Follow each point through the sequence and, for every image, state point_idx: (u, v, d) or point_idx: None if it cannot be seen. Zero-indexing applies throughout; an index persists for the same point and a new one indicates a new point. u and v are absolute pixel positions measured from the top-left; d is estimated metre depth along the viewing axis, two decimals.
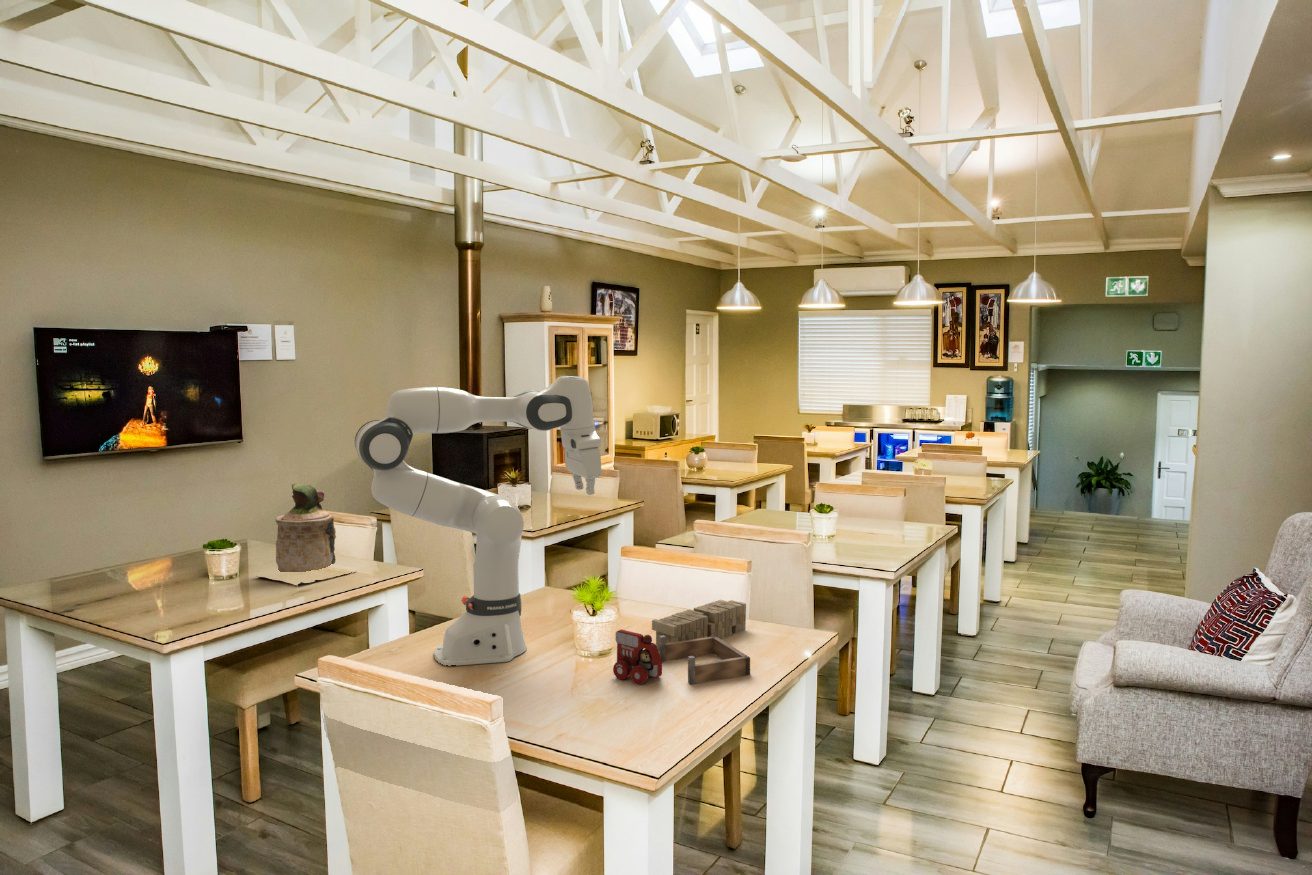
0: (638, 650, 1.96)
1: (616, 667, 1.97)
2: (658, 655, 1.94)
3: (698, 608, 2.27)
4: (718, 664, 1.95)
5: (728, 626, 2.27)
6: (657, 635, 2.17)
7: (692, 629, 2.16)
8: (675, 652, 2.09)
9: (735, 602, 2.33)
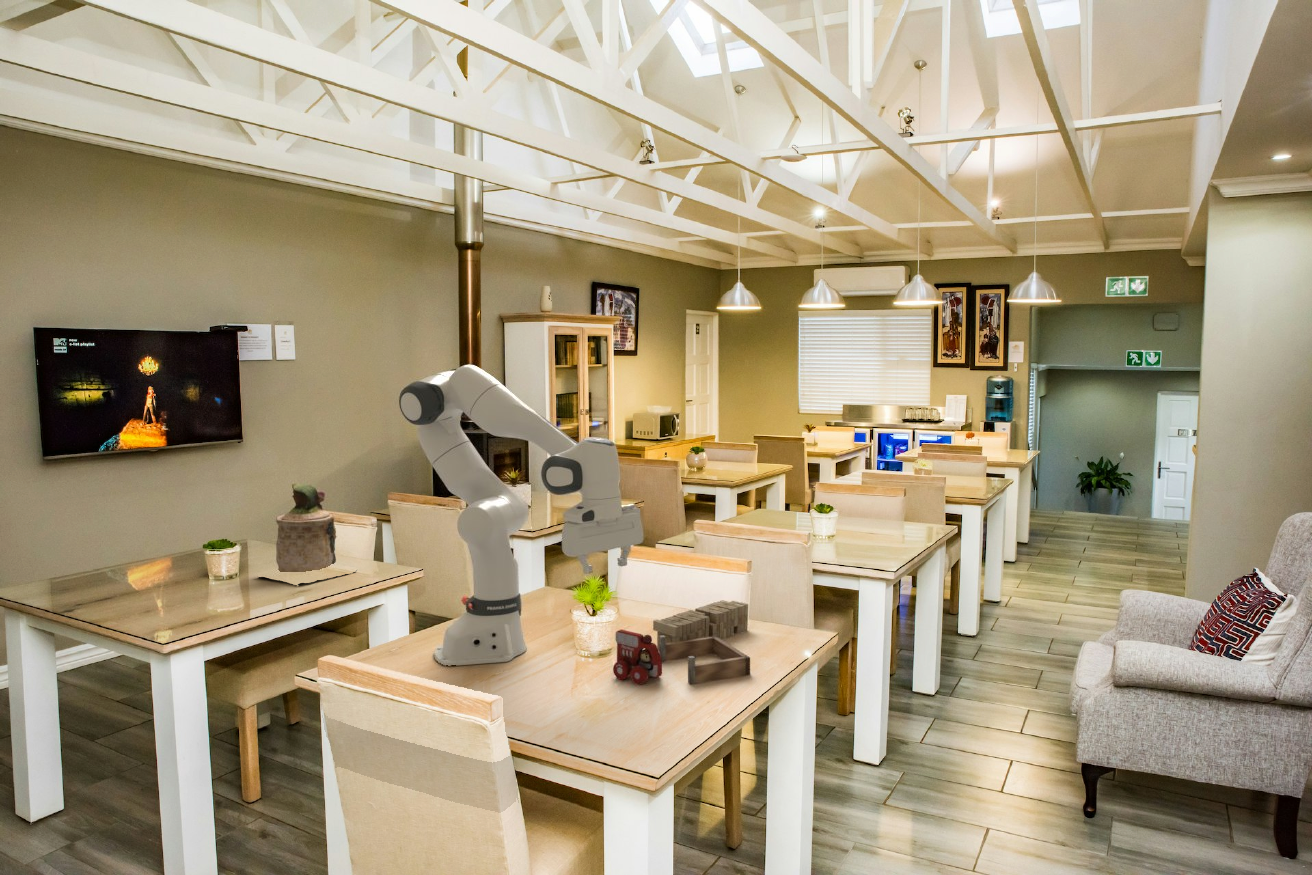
0: (638, 650, 1.96)
1: (616, 667, 1.97)
2: (658, 655, 1.94)
3: (700, 608, 2.27)
4: (718, 664, 1.95)
5: (730, 627, 2.26)
6: (658, 635, 2.16)
7: (693, 629, 2.15)
8: (675, 652, 2.09)
9: (737, 603, 2.33)
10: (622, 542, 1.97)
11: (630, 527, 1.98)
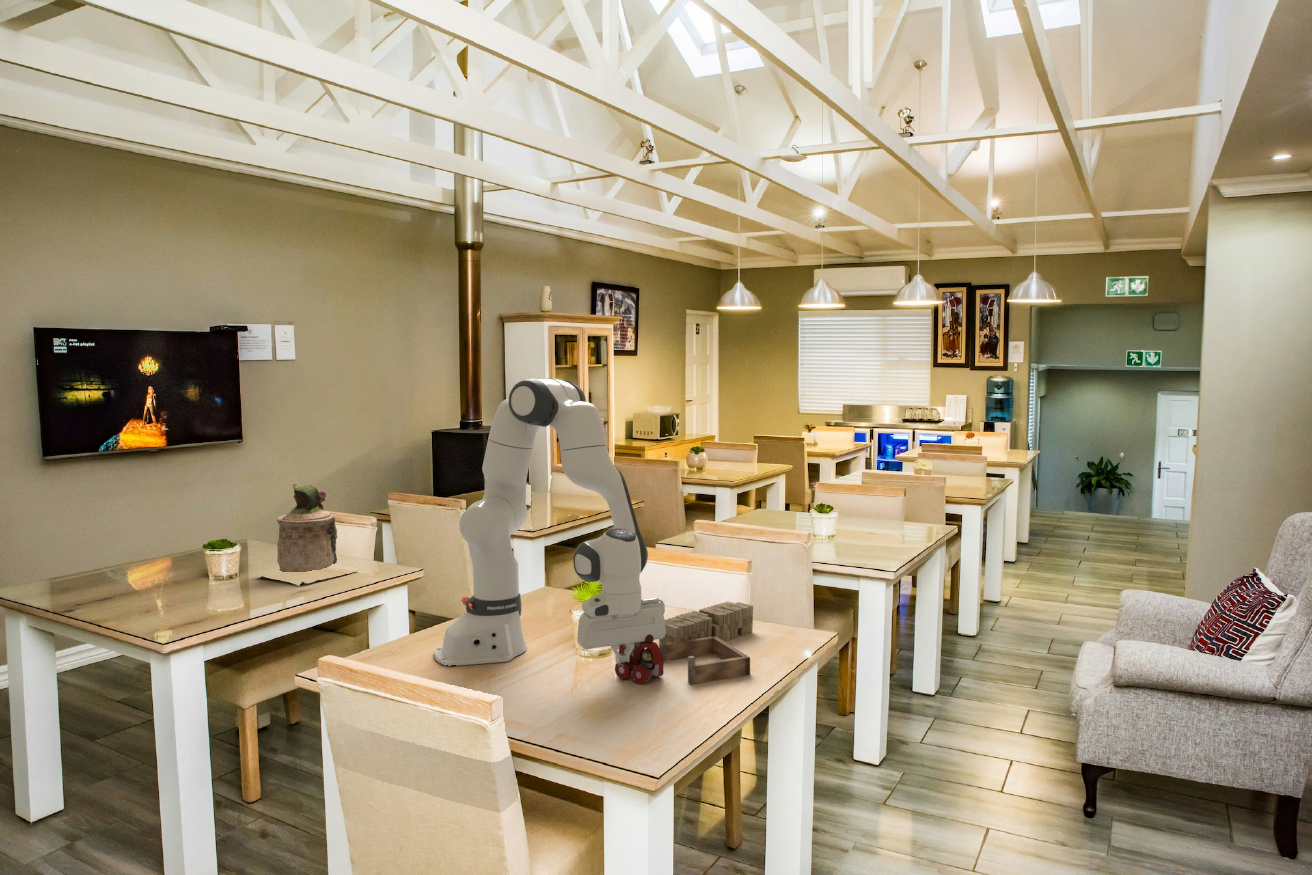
0: (640, 649, 1.96)
1: (618, 666, 1.97)
2: (659, 654, 1.94)
3: (704, 609, 2.26)
4: (718, 664, 1.95)
5: (734, 628, 2.25)
6: None
7: (695, 630, 2.14)
8: (675, 652, 2.09)
9: (742, 604, 2.31)
10: (641, 637, 1.95)
11: (651, 622, 1.96)
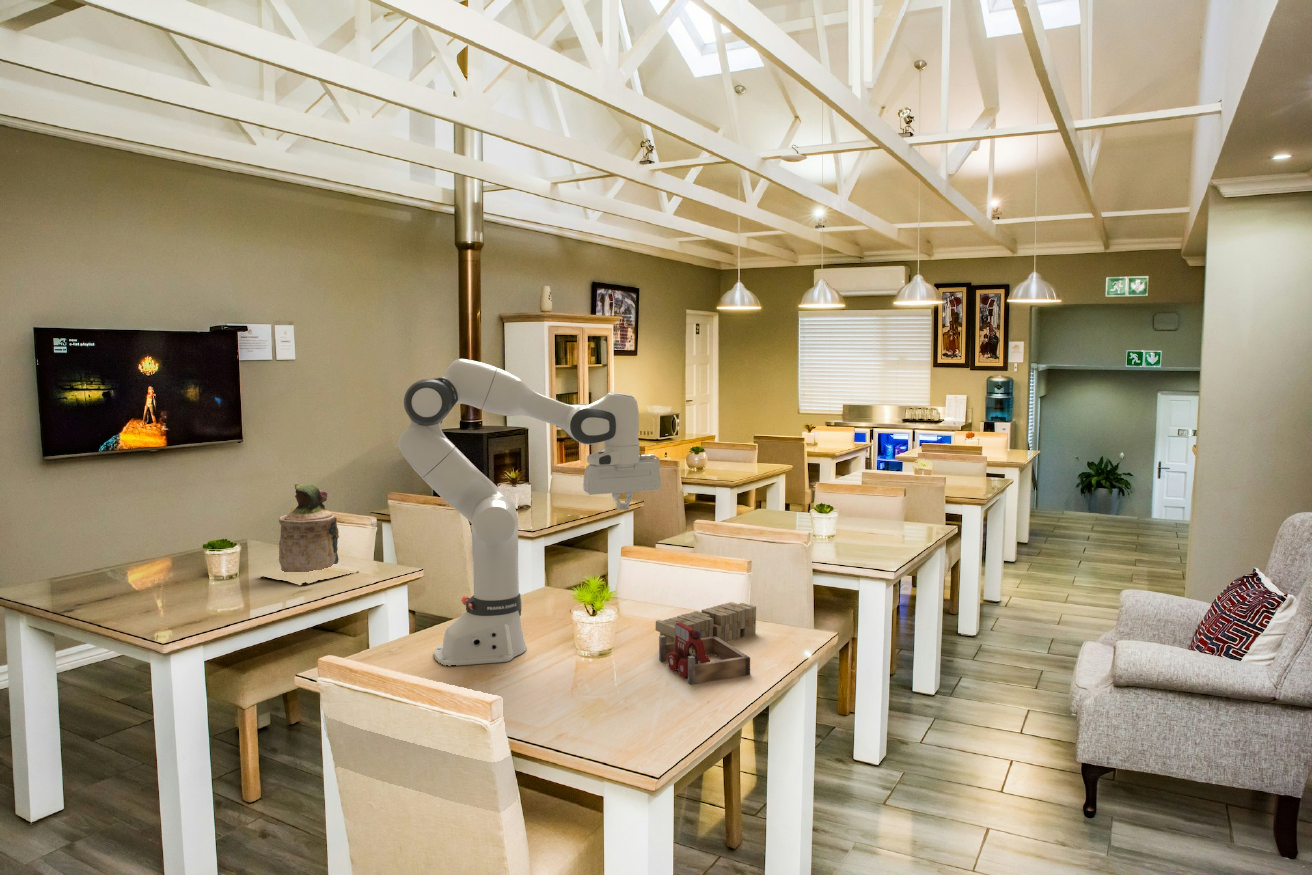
0: (688, 644, 2.00)
1: (669, 658, 2.03)
2: (703, 651, 1.96)
3: (706, 610, 2.26)
4: (718, 664, 1.95)
5: (736, 629, 2.24)
6: None
7: None
8: None
9: (745, 605, 2.30)
10: (639, 487, 2.21)
11: (648, 474, 2.22)
